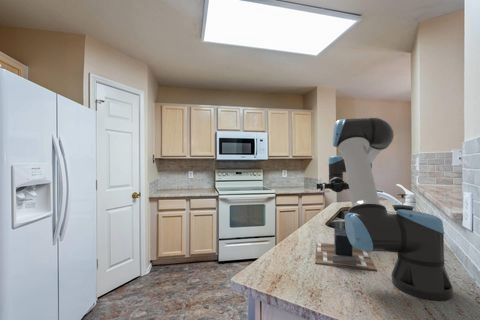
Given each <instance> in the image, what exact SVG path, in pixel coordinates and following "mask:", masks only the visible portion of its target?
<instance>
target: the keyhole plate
mask: <svg viewBox="0 0 480 320" xmlns="http://www.w3.org/2000/svg"><path fill="white" fill-rule="evenodd" d="M314 263H315V265H323V266H329V267H339V268H347V269H355V270H364V271H371V272H377V268H376V266H375V263H374V262H373V259H372V258H371V256H370V253H369V252H368V251H364V250H357V249H355V248H354V247H353V246H352V256H344V255H335V254H334V243H326V242H316V247H315V261H314Z"/></svg>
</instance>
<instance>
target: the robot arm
mask: <svg viewBox="0 0 480 320" xmlns="http://www.w3.org/2000/svg"><path fill="white" fill-rule="evenodd" d="M393 139H394V130H393V128H392V126H391V125H390V124H389V122H388V121H386V120H384V119H382V118H379V117H366V118H343V119H338V120H336V121H335V124H334V126H333V134H332V146H333V147H335V148H337V149H338V152H339V153H340V154H342V155H343V156H342V155H330V156H329V157H328V163H327V164H328V183H327V182H320V183H316V190H320V192H321V191H322V192H325V191H326V190H328V189H329V190H331V191H332V192H334V193H341V192H343V191H344V190H345V191H346V190H347V191H348V190H349V195H350V200H351V201H350V202H351V206H350V207H349V209H347V210H348V213H345V215H344V227H345V228H344V229H346V233H347V237H348V239H349V242H350V243H351V245H352V246H353V247H354V248H355V249H357V250H364V251H367V252H368V253H369V252H370V253H371V252H378V253H379V252H383V253H397V259H396V261H395V264H394V266H393V269H392V272H391V283H392V284H393V285H394V286H395V287H396V288H397V289H399V290H401V291H403V292H404V293H406V294H408V295H411V296H415V297H418V298H421V299H426V300H431V301H448V300H451V299H452V298H453V297H454V288H453V287H454V286H453V284H452V282H451V280H450V278H449V275H448V271H447V270H446V267H445V239H444V236H445V231H444V222H443V220H442V219H441V218H440V217H439V216H437V215H434V214H430V213H426V212H421V211H417V210H413V211H411V210H403V209H401V210H397V211H395V214H396V215H394V214H389V213H388V211H387V207H386V206H385V205H384V204H382V203H380V199H379V195H378V191H377V187H376V183H375V180H374V174H373V170H372V169H373V161H374V160H375V159H376V158H377V157H378V155H379V154H380V153H381V152H382V151H383V150H386V149H387V148H389V146H390V145H391V143H392V142H393ZM344 173H345V174H346V178H347V182H345V180H344Z"/></svg>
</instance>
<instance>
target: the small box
mask: <svg viewBox="0 0 480 320" xmlns="http://www.w3.org/2000/svg"><path fill="white" fill-rule="evenodd" d="M333 230H334V232H333V233H334V237H333V238H334V241H333V242H334V243H333V244H334V254H335V255H344V256H352V245H351V243H350V242H349V239H348V237H347V233H346V229H345V228H337V227H335V228H333Z"/></svg>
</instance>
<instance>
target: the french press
mask: <svg viewBox="0 0 480 320" xmlns="http://www.w3.org/2000/svg"><path fill="white" fill-rule="evenodd" d="M397 196H401V199H402V200H401V201H402V203H401V204H393V205H392V208H393V211H395V212H397V210H401V209H403V210H411V211H414V208H415V207H414V206H413V205H412V206H411V205H406V204H404V198H405V197H407V196H408V194H406V193H398V194H397ZM393 215H396V213H394V214H393Z"/></svg>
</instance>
